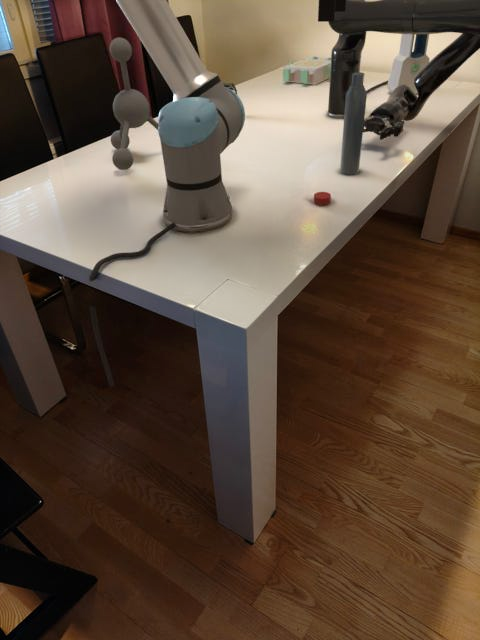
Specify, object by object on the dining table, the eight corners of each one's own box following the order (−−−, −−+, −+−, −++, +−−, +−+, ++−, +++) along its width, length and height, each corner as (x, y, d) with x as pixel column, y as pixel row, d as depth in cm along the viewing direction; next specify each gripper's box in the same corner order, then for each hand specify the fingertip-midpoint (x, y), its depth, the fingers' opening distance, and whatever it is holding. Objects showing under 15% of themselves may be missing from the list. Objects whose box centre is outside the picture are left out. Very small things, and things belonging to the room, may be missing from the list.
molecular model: (196, 161, 135) (182, 37, 116) (116, 176, 129) (90, 48, 110) (173, 138, 152) (159, 27, 134) (102, 149, 146) (77, 35, 128)
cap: (331, 199, 112) (332, 192, 111) (328, 206, 109) (329, 199, 108) (315, 197, 113) (315, 191, 112) (312, 204, 110) (312, 197, 109)
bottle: (362, 171, 124) (373, 73, 110) (349, 176, 122) (358, 76, 108) (349, 166, 127) (357, 70, 113) (336, 171, 125) (343, 73, 111)
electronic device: (396, 96, 178) (409, -2, 159) (385, 92, 183) (397, -3, 165) (426, 92, 180) (443, -5, 162) (415, 88, 186) (430, -6, 167)
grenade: (217, 117, 168) (214, 86, 162) (221, 112, 172) (219, 82, 166) (235, 117, 166) (233, 86, 160) (239, 113, 171) (238, 82, 165)
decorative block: (305, 54, 216) (346, 57, 206) (304, 70, 220) (345, 74, 210) (274, 66, 200) (317, 69, 190) (274, 83, 204) (316, 87, 194)
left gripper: (356, -158, 65) (343, 25, 78) (374, -139, 84) (361, 7, 97) (301, -152, 67) (297, 26, 80) (330, -134, 86) (323, 8, 99)
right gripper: (364, 100, 139) (341, 115, 128) (414, 105, 132) (394, 122, 122) (361, 127, 143) (339, 144, 133) (409, 133, 137) (390, 152, 126)
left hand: (332, 16), depth 89 cm, fingers open, 13 cm apart
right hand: (365, 133), depth 127 cm, fingers open, 8 cm apart
